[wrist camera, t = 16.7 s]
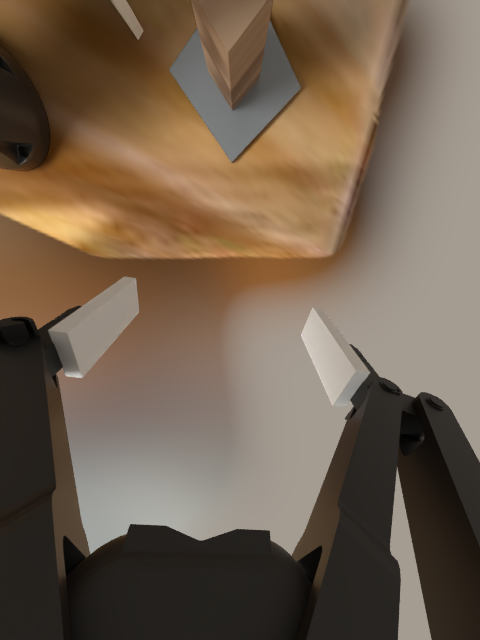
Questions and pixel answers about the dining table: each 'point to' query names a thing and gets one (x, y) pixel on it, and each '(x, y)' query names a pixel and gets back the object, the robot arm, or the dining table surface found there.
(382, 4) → the dining table surface
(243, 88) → the walnut block
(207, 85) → the coaster
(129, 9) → the cubby
